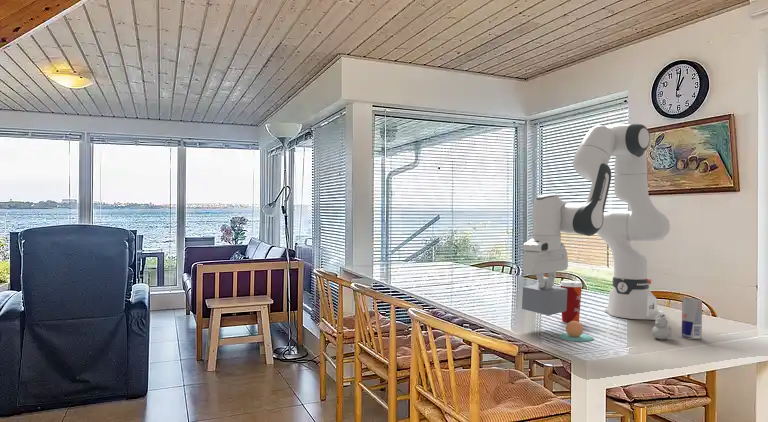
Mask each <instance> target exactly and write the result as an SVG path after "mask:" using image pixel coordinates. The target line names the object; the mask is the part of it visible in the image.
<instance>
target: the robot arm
mask: <svg viewBox="0 0 768 422" xmlns="http://www.w3.org/2000/svg"><path fill="white" fill-rule="evenodd" d="M650 143H651V134H650V131H649V129H648V128H647V126H645V125H644V124H641V123H630V124H625V123H624V124H615V125H614V124H613V125H611V126H605V125H595V126H593V127H591V128H590V129H589V131H587V132H586V134H585V136H584V137H583V139H582V140H581V142H580V144H579V145H578V148H577V150H576V152H575V154H574V156H573V161H572V165H573V168H574V170H575V172H576V173H577V175H579V176H580V177H581V178H583V179H585V180H587V181H589V182H591V184H590V185H591V186H590V190H589V193H588V197H587V200H586V201H584V202H583V203H579V204H578V203H567V202H565V201H563V200H561V198H560V197H559V194H558V193H553V192H552V193H544V194H543V193H541V194H539V195H537V196H535V198H534V201H533V203H532V204H533V205H532V215H531V216H532V226H533V228H532V229H533V231H532V233H531V236H532V237H531V238H530V239H529V240H527V241H526V242H524V243H523V244H522V250H523V251H524V252H523V254H522V270H523V273H524V274H525V275H529V276H536V279H537V282H538V284H539V287H542V288H543V287H546V282H545V281H544V278H543V277H545V274H548V278H552V286H555V279H556V276H557V272H561V271H566V270H567V269H568V268H569V260H568V252H567V249H566V245H565V244H564V243H563V242H562V233H565V234H576V235H577V234H578V235H581V236H582V235H584V236H588V237H590V236H594V235H596V234H597V235H598V237H599V238H601V239H602V240H603V241H604V242H605V243H606V244H607V245H608V248H610V250H611V251H610V252H611V253H612V257H613V277H612V281H611V282H612V289H611V290H609V293H608V304H607V308H605V309H604V313H607V314H608V315H610V316H611V317H612V316H613V317H616V318H623V319H630V320H653V321H656V319H657V318H658V316H660V314H661V316H662V317H663V316H664V315H665V311H664V310H660V309H659V310H658V299H657V297H656V296H655V295H654V293H652V292H651V290H650V285H651V284H652V281H653V280H652V279H651V278H647V277H648V276H647V275H648V274H647V273H648V270H647V269H648V267H647V266H648V260H647V258H646V256H645V254H643V253H642V252H640V251H639V250H636V249H635V248H633V246H632V245H631V242H657V241H661V240H664V239H665V238H666V237H667V236H668V235H669V233H670V229H671V223H670V220H669V219H668V217H667V216H666V214H664V213H663V212H661V211H660V210H659V209H657V208H656V206H655V205H654V203H653V202H652V200H651V198H650V195H649V188H648V165H647V158H646V151H647V149H648V148H649V145H650ZM612 157H615V159H614V160H615V161H614V171H613V172H614V174H613V175H614V181H613V182H614V183H613V184H614V195H615V196H616V198H617V199H619V200H621V201H622V202H624V203H627V204H628V205H629V206H630V209H631V210H630V211H629V210H627V211H626V210H611V211H606V212H605V207H606V203H607V199H608V195H609V190H610V185H611V182H612V181H611V180H612V170H611V168H610V166H609V162H610V159H611V158H612Z"/></svg>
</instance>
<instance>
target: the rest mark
mask: <svg viewBox="0 0 768 422" xmlns="http://www.w3.org/2000/svg"><path fill="white" fill-rule="evenodd" d="M558 337H559V338H561V339H563V340H566V341H571V342H585V343H586V342H591V341H594V339H595V338H594V337H593V336H592V335H589V334H585V333H584V334H583V333H582V334H581V335H580V336H579V337H571V336H569V335H568V334H567V332H563V333H560V334H558Z"/></svg>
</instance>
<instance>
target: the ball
mask: <svg viewBox="0 0 768 422" xmlns="http://www.w3.org/2000/svg"><path fill="white" fill-rule="evenodd" d="M565 331H566V332H565V333H567V334H568V335H569V336H571V337H579V336H580V335H581V334H583V332H584V328H583V325H582V323H580V321H579V322H577V321H571V322H569V323H566V326H565Z"/></svg>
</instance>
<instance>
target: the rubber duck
mask: <svg viewBox="0 0 768 422" xmlns="http://www.w3.org/2000/svg"><path fill="white" fill-rule="evenodd" d="M654 321H655V322H654V323H655V324H654V325H655V326H652V327H653V328H651V333H652V336H653V338H655V339H656V340H661V341H664V340H667V339H669V338H671V337H672V331H671V330H672V326H670V325H668V320H667V319H666V318H665V316H664V315H662V316H661V314H660V316H658V318H657V319H656V320H654Z"/></svg>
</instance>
